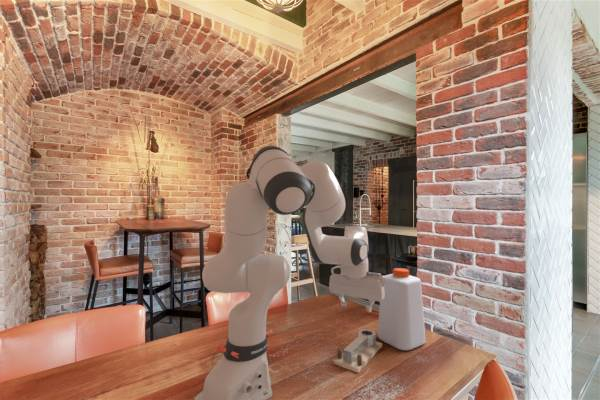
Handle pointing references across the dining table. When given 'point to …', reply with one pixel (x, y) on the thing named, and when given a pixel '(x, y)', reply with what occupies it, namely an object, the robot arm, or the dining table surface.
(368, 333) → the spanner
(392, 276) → the plastic bottle
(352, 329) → the dining table surface
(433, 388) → the dining table surface
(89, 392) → the dining table surface
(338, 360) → the peg board
